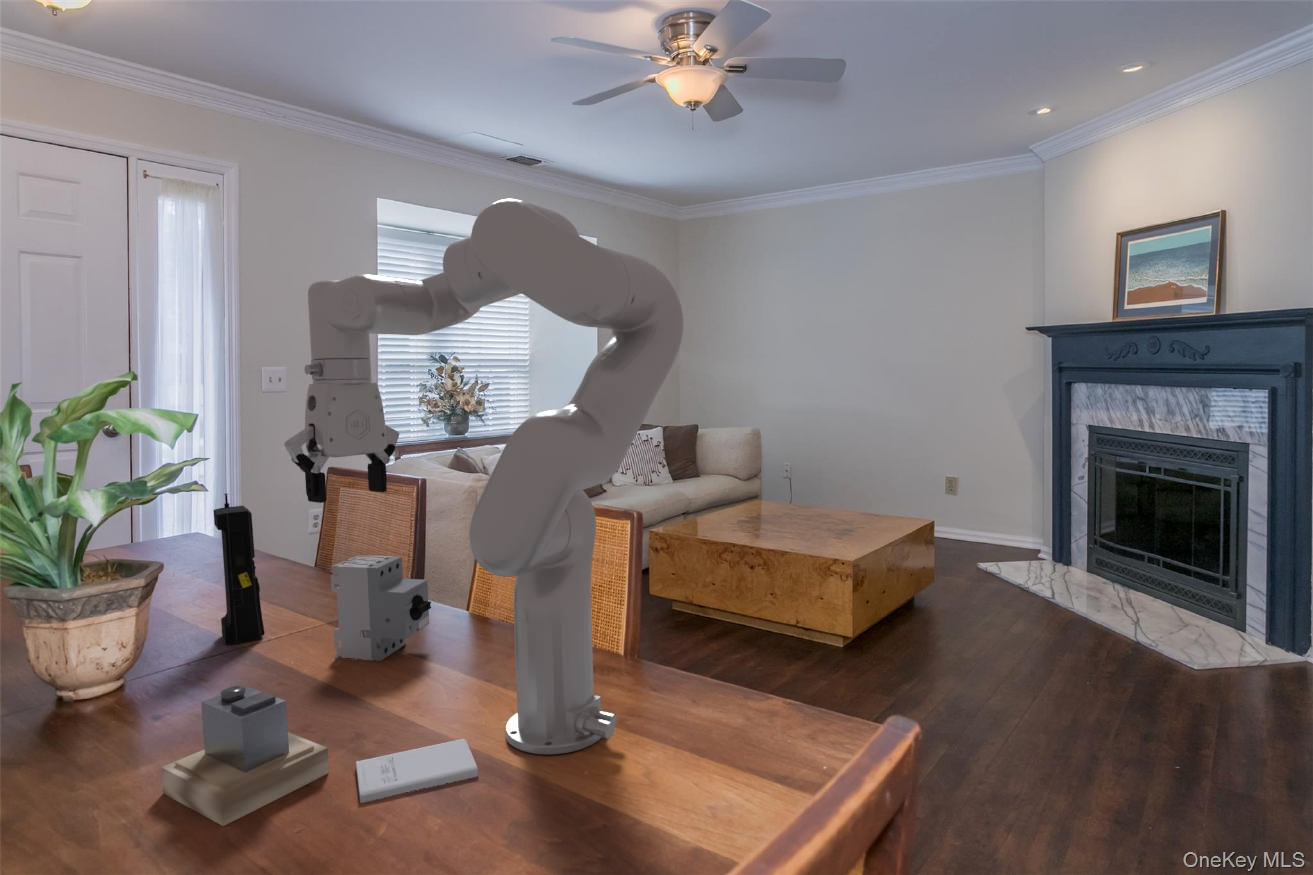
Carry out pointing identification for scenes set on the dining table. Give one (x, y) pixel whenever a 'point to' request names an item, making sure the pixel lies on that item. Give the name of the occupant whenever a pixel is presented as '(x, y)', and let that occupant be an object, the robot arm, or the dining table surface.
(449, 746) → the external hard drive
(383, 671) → the dining table surface
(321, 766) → the stand
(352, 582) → the circuit breaker
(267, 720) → the housing
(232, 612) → the portable radio
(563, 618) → the robot arm
